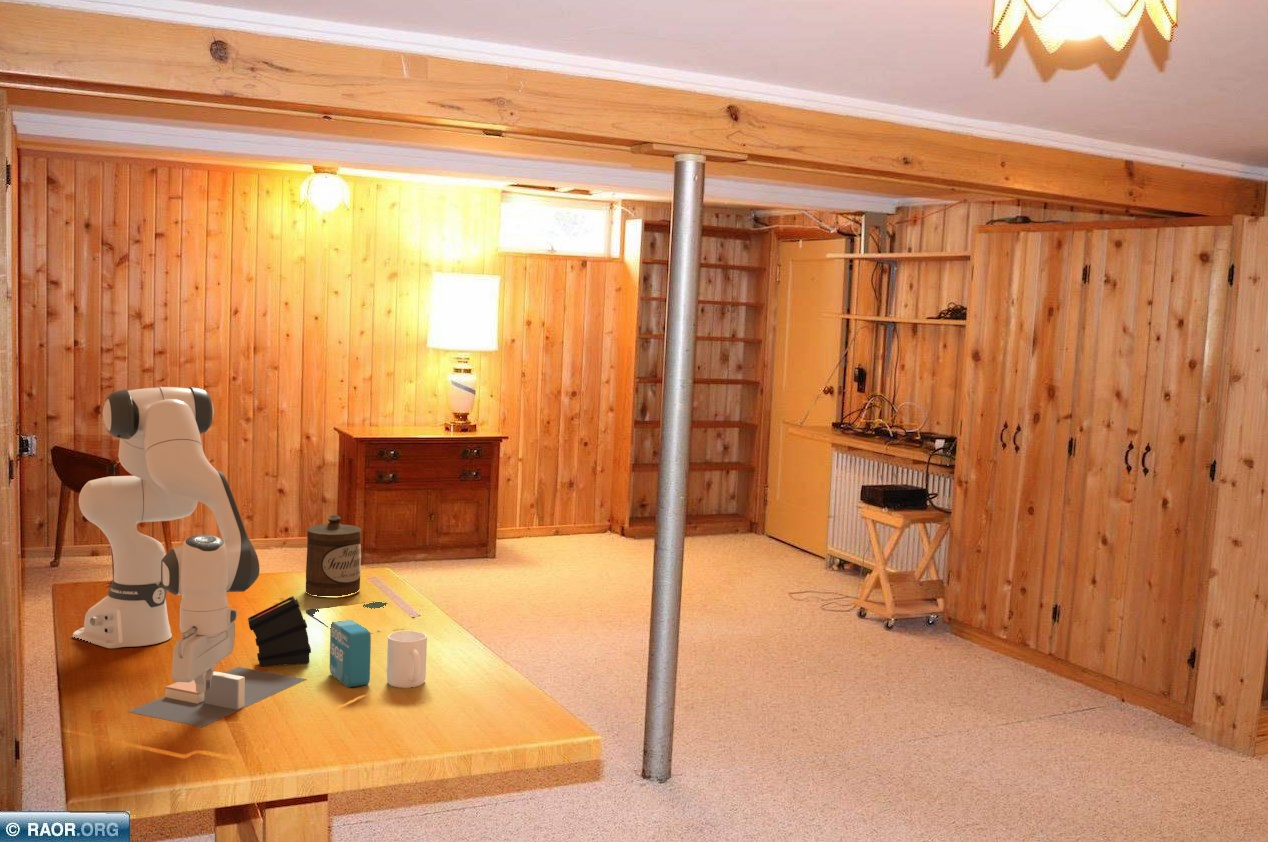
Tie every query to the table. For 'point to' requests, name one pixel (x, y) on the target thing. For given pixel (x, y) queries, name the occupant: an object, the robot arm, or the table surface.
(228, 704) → the light grey flat block
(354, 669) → the data package
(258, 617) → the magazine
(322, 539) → the wooden container
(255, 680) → the mat
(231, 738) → the table surface
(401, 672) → the mug
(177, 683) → the peach flat block
